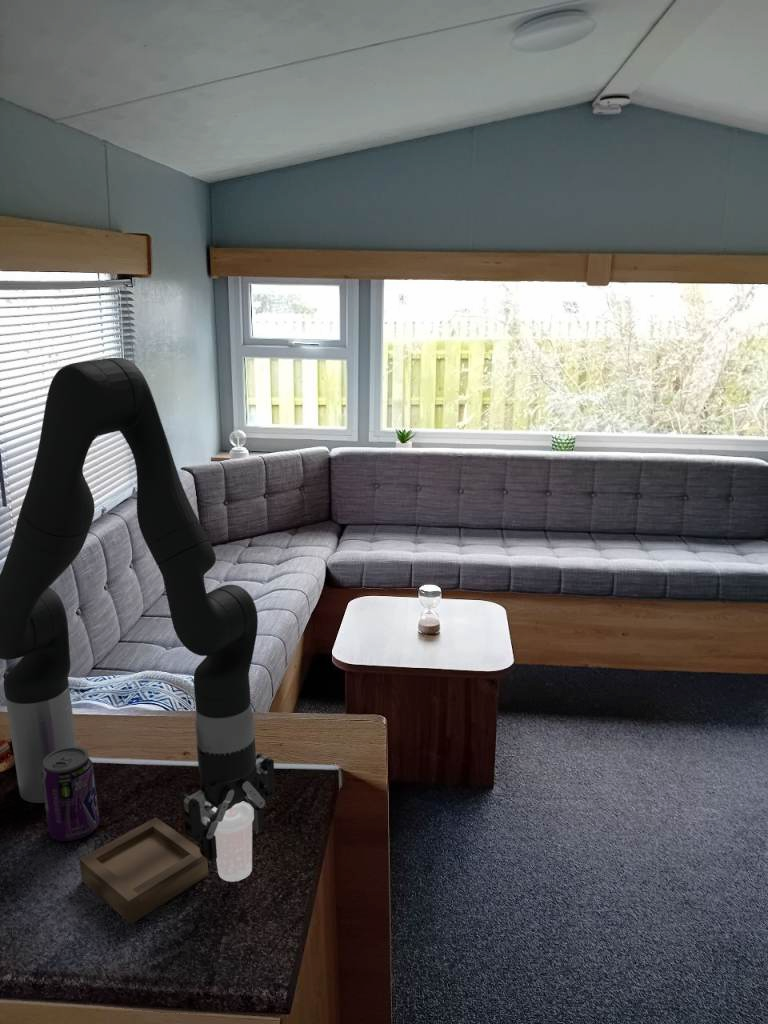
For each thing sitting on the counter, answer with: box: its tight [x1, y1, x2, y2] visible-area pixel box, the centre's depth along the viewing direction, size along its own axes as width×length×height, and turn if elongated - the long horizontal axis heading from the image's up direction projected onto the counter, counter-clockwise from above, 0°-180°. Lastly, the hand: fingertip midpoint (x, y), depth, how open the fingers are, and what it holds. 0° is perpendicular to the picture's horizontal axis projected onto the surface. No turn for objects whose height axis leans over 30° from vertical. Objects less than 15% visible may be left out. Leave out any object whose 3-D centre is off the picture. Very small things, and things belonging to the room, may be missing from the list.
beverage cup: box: [208, 800, 254, 883], centre depth 115 cm, size 6×6×14 cm
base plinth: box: [78, 816, 209, 925], centre depth 115 cm, size 12×12×4 cm
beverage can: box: [41, 746, 100, 842], centre depth 124 cm, size 7×7×12 cm
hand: (233, 843), depth 116 cm, fingers open, 7 cm apart
